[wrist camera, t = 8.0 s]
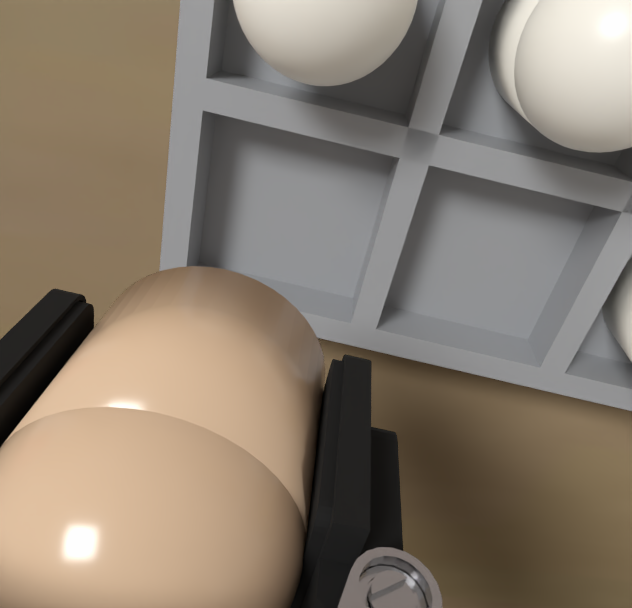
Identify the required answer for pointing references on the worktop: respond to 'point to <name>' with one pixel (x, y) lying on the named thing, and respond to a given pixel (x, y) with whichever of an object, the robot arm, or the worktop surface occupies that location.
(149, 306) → the brown egg
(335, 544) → the robot arm
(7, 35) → the worktop surface
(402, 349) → the egg carton
